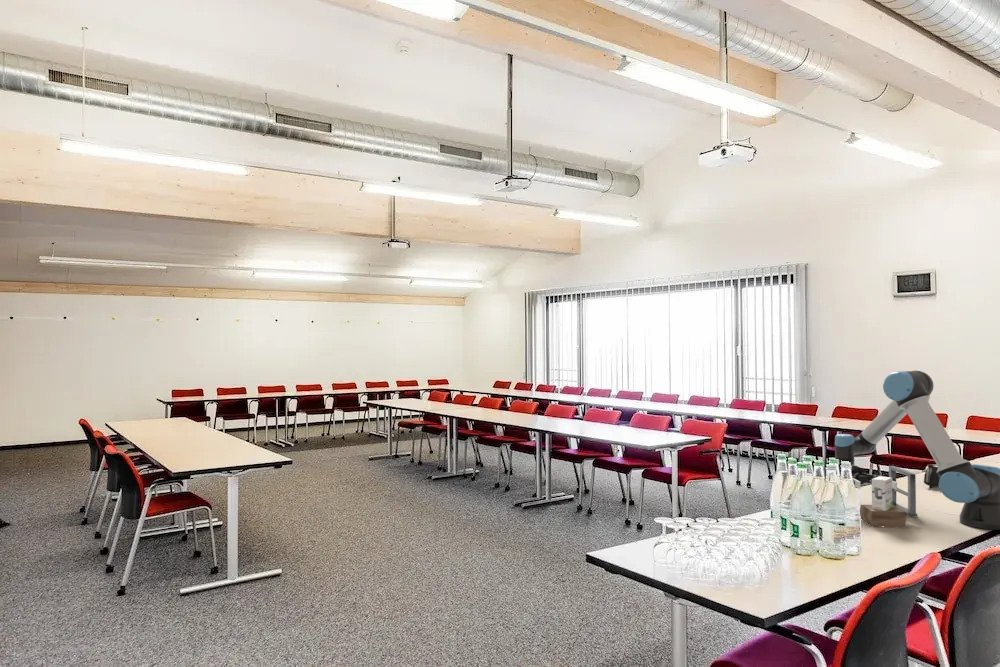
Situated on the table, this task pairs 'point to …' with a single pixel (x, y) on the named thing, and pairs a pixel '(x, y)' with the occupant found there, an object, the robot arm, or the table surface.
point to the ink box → (882, 493)
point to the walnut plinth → (883, 516)
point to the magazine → (931, 476)
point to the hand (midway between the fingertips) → (877, 485)
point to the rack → (911, 491)
